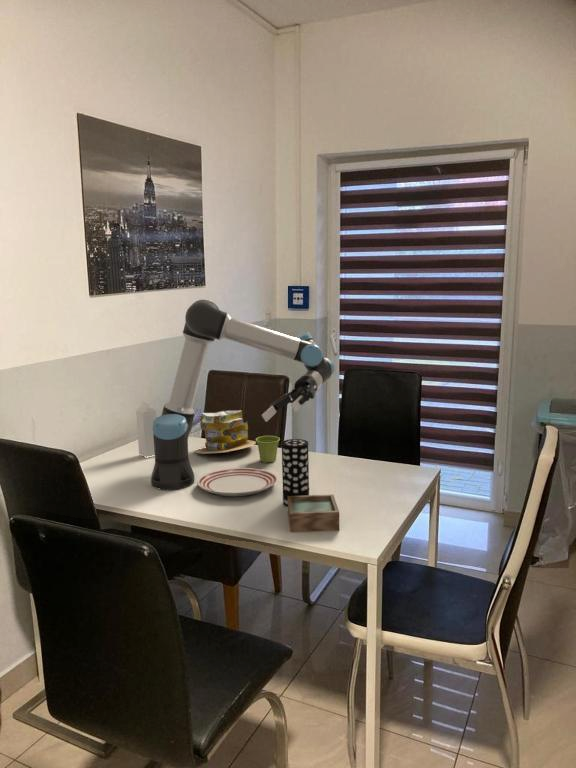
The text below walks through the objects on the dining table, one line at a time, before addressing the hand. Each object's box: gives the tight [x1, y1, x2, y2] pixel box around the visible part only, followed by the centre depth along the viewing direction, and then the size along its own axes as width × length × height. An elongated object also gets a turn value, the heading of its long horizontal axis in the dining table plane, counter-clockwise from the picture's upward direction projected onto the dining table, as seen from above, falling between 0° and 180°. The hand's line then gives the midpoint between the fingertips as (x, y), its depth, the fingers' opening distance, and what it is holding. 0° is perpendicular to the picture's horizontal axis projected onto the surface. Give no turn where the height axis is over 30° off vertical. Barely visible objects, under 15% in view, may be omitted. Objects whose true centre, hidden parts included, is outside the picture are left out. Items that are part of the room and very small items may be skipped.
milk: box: [135, 401, 158, 457], centre depth 253 cm, size 6×6×22 cm
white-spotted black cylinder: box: [281, 438, 310, 508], centre depth 199 cm, size 8×8×20 cm
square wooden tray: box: [287, 494, 340, 533], centre depth 185 cm, size 14×14×6 cm
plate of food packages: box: [194, 409, 257, 455], centre depth 258 cm, size 25×25×17 cm
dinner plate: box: [196, 467, 279, 497], centre depth 216 cm, size 28×27×3 cm
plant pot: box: [255, 435, 281, 463], centre depth 244 cm, size 9×9×9 cm
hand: (278, 413), depth 209 cm, fingers open, 13 cm apart
